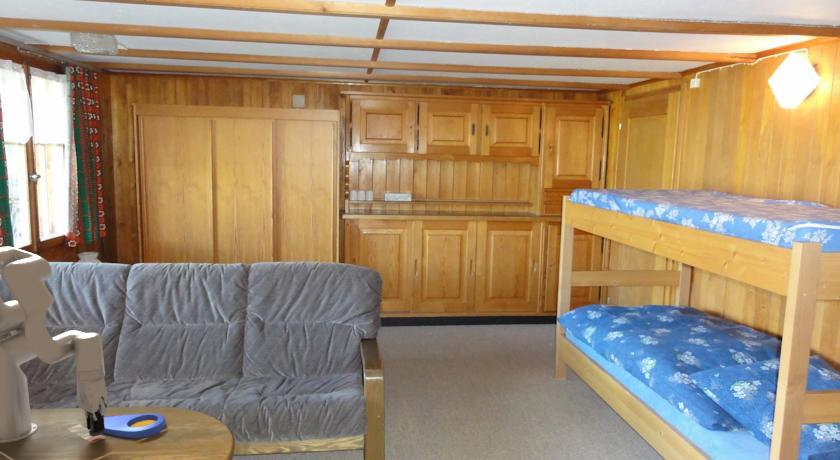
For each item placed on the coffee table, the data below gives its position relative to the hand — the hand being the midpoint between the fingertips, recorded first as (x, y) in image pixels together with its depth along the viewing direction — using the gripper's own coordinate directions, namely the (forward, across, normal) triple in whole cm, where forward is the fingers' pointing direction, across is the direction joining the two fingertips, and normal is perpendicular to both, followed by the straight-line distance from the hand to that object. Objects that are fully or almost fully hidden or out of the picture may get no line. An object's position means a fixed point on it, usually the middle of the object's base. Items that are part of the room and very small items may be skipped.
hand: (96, 428), depth 186 cm
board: (+4, -7, 0) cm, 8 cm away
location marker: (+5, 0, +10) cm, 11 cm away
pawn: (+1, 0, 0) cm, 2 cm away
